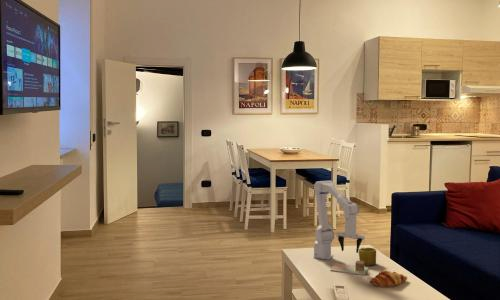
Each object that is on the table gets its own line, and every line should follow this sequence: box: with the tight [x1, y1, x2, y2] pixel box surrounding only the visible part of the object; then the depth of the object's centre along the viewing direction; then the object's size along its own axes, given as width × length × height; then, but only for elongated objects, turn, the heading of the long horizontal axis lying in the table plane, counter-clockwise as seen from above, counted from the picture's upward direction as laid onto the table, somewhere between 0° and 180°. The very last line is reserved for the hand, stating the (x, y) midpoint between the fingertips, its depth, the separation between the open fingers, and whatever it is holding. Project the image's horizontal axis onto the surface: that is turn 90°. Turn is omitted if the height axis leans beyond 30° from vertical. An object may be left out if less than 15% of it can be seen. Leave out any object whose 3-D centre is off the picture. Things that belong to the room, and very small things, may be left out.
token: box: [354, 260, 365, 271], centre depth 244 cm, size 4×4×4 cm
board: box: [330, 262, 369, 276], centre depth 247 cm, size 18×11×1 cm, turn 68°
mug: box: [358, 246, 377, 266], centre depth 257 cm, size 12×10×10 cm
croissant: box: [369, 270, 408, 288], centre depth 227 cm, size 21×10×8 cm, turn 110°
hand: (349, 251), depth 247 cm, fingers open, 7 cm apart
